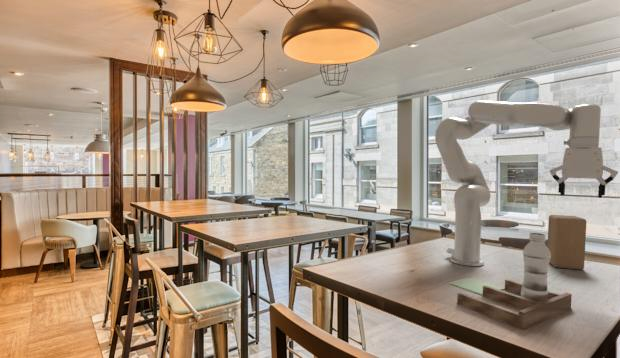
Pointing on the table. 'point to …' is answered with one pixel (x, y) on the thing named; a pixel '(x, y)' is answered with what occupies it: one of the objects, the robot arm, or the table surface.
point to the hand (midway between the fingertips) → (580, 196)
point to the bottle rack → (516, 305)
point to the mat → (474, 285)
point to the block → (567, 241)
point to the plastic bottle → (536, 268)
